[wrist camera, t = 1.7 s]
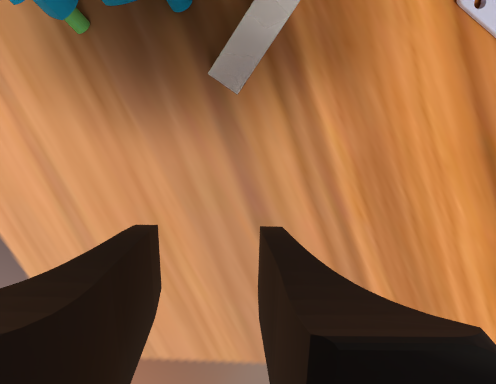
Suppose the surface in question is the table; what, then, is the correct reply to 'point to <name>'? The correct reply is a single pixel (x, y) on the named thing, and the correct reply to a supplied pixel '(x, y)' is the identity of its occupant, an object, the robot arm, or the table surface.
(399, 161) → the table surface
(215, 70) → the rail dock
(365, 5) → the table surface
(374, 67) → the table surface
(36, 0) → the gear
